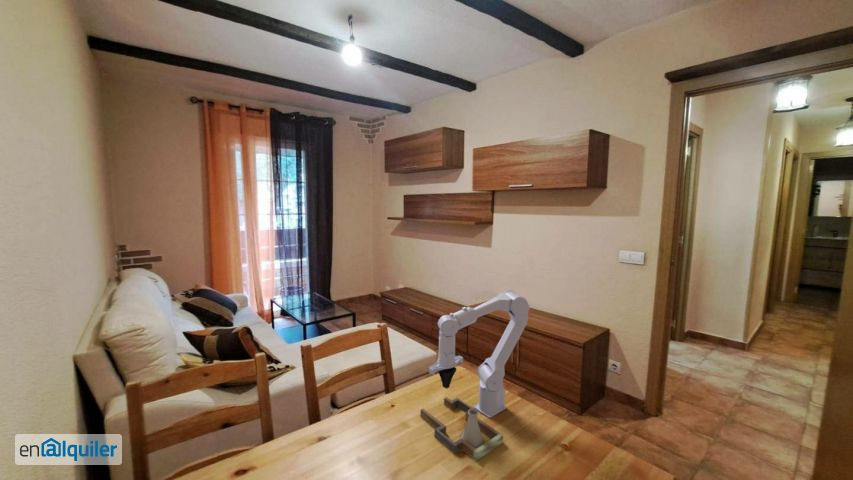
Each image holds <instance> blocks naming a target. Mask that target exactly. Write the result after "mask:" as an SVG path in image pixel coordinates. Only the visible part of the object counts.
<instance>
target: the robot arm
mask: <svg viewBox="0 0 853 480" xmlns="http://www.w3.org/2000/svg"><path fill="white" fill-rule="evenodd" d="M530 309H531V307H530V304H529V302H528V300H527V298H525V297H523V296H521V295H520V294H518V293H517V292H515V291H514V290H512V289H511V290H505V291H504V292H500V293H498V294H497V295H496V296H495V297H492V298H491V299H489V300H487V301H485V302H483V303H481V304H479V305H477V306H475V307H470V306H467V307H466V306H462V308H461V309H460V310H458V311H456V312H450V313H449V314H445V315H442V316H440V318H438V321H437V326H438V329H439V331H438V334H439V335H438V358H437V361H436V362H435V363H433V364H432V365H431V366H429V367H428V373H429V374H430V375H432V376H433V375H436V374H435V373H438V375H439V376H440V377H439V378H440V379H441V380H440V381H441V384H442V387H443V388H445V389H447V390H448V389H449V388H450V386H451V383H452V380H453V377H454V375H455V374H456V372H457V368H456V367H455V366H457V365H458V364H459V363H460V364H463V363H464V357H463V356H461V355H457V356H456V334H457V333H458V331H460V330H461V329H463V328H465V327H467V326H470V325H471V324H474V323H476V321H478V318H479V317H482V316H485V315H488V314H490V313H493V312H497V311H503V312H505V313H506V312H507V313H508V315H509V318H510V320H509V322H508V324H507V326H506V328H505V330H504V332H503V334H502V335H501V338H500V340H499V341H498V343H497V344H496V346H495V348H494V350H493V352H492V354H491V356H490V357H487V358H485V360H484V362H482V364H480V365H478V369H477V375H478V376H479V378H480V379H479V380H480V381H479V386H478V387H479V388H478V389H479V390H478V403H477V404H475V405H473V406H472V408H474V409H476V410H478V412H480V413H481V414H483V415H484V416H486V417H487V418H489V419H491V418H493V417H494V416H496V415H498V414H499V413H501V412H502V411H505V410H507V406H506V405H505V404H506V403H505V401H506V400H505V399H506V389H505V387H504V384H503V381H504V377H505V374H506V372H505V365H506V363H507V361H508V360H509V357H510V356H511V354H512V352H513V350H514V349H515V347H516V345H517V343H518V342H519V339H520V337H521V336H522V333H523V332H524V331H525V328H526V326H527V325H528V321H529V318H528V317H529V311H530Z"/></svg>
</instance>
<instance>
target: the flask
mask: <svg viewBox="0 0 853 480" xmlns="http://www.w3.org/2000/svg"><path fill="white" fill-rule="evenodd" d="M468 414H469V418H468V421H467V422H466V424H465V427H464V430H463V432H462V434H461V436H460V439H461V438H462V439H464V440H465V441H466V442H467V443H469V444H470V445H471V446H473V447H474V448H475V449H477V448H479V447H480V446H482V445H483V444H484V437H483V434H482V431H481V430H480V428H479V425H478V421H477V418H478V415H479V411H478V410H476V409H475V408H474V409H469V410H468Z"/></svg>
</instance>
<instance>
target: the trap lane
mask: <svg viewBox="0 0 853 480" xmlns="http://www.w3.org/2000/svg"><path fill="white" fill-rule="evenodd" d="M443 406H445V407H447V408H448V409H450V410H454V409H455V408H459V409H461V410H462V411H463V412H465V420H466V421H467V422H468V418H469V414H468V410H469V409H475V408H474V407H473V406H470V405H469V404H467V403H466V402H464V401H462V399H460V398H458V397H456V398H454V399H450V398H449V397H446V396H445V397H444V398H443ZM420 418H422V419H423V420H424V421H425V422H426V423H428V424H429V425H430V426H432V427H433V428H434V438H436V440H438V441H439V442H441V443H442V445H444V446H445V447H446V448H447V449H449V451H451V452H452V453H453V454H456V453H458V452H460V451H463V452H464V453H465V454H467V456H469V458H471V459H473V460H474V461H475V462H477V461H478V460H480V459H482V458H483V457H484V456H487V454H489V453H490V452H491V451H493V450H494V449H496V448H497V447H499V446H500V445H502V444H503V443H504V434H502V433H501V432H500V431H498V430H497V429H495V428H493V427H492V426H490V425H489V424H487V423H486V422H484V421H483V420H481V419H479V418H478V417H477V421H478V425H479V428H480V431H481V433H484V434H486V435H487V436H488V437H490V438H491V439H489V440H488V441H486V442H485V443H483V444H482V445H481V446H480V447H479V448H474V447H473V446H471V445H470V444H469V443H467V442H466V441H465V440H464V439H462V438H461V437H460V439H458V440H455V441H453V440H452V439H451V438H449V437H448V436H447V435H446V434H447V425H445V424H444V423H442V421H441V420H438V418H436V417H435V416H434V415H432V414H431V413H429V411H427V410H426V409H424V408H421V409H420Z"/></svg>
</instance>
